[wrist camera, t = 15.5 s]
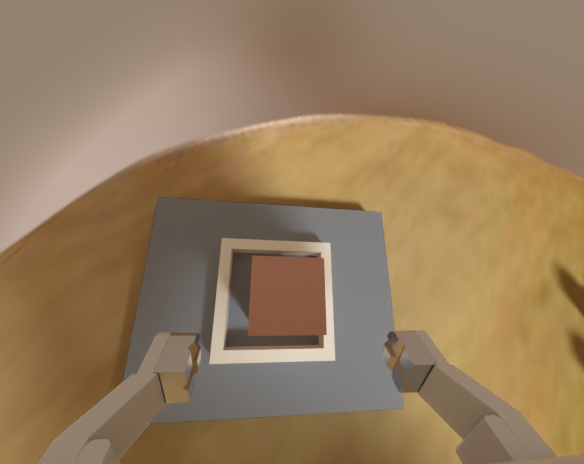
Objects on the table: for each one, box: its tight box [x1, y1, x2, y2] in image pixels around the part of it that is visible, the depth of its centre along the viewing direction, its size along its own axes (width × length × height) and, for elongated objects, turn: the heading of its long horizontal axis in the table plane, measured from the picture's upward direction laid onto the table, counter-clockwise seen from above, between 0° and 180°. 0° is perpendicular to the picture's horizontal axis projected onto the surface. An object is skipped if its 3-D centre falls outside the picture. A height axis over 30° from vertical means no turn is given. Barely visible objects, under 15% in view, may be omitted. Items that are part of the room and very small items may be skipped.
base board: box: [123, 197, 404, 424], centre depth 19 cm, size 20×16×4 cm
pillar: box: [248, 255, 327, 336], centre depth 15 cm, size 4×4×8 cm
